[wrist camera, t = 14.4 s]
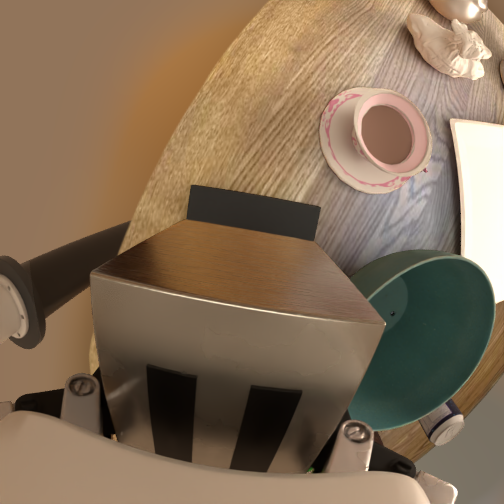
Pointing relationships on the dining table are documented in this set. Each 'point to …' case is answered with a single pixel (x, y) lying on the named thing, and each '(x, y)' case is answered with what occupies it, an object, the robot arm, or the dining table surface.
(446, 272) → the plant pot
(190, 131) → the dining table surface
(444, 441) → the beverage can
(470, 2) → the cream glossy round piece
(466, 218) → the plate
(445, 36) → the bust
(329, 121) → the teacup
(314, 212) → the mat
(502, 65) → the mug
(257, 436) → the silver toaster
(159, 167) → the dining table surface
